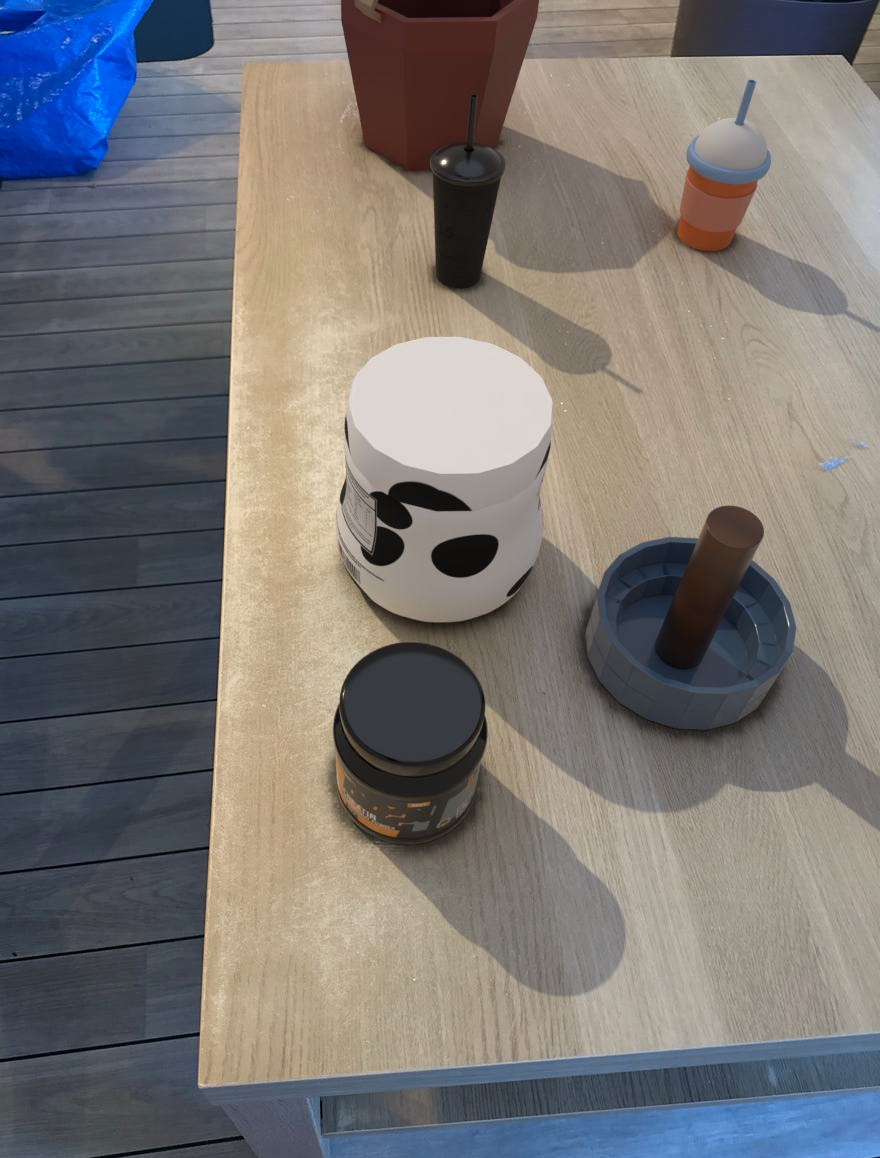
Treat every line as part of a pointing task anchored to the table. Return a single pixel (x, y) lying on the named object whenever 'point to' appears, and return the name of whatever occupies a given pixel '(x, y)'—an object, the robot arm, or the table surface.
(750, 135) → the cup with straw
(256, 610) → the table surface
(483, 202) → the drinking cup
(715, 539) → the brown cylinder
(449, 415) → the milk container
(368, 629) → the table surface
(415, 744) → the supplement container
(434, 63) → the bucket
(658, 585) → the bowl
